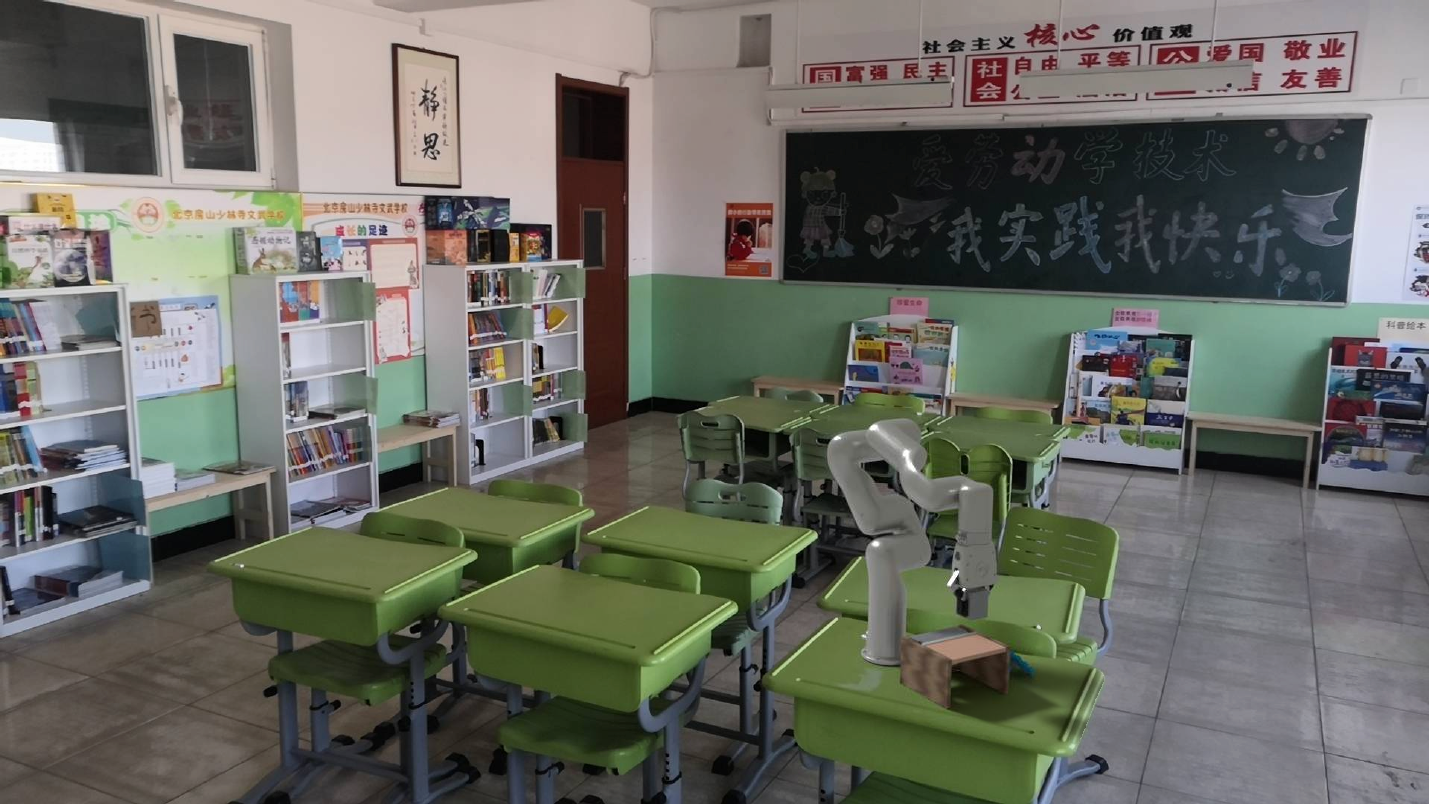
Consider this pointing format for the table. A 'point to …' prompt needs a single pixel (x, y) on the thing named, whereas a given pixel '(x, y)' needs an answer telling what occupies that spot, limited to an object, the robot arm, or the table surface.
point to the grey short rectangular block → (976, 603)
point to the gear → (1019, 663)
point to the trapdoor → (958, 644)
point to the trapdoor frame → (949, 670)
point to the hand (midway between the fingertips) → (971, 612)
